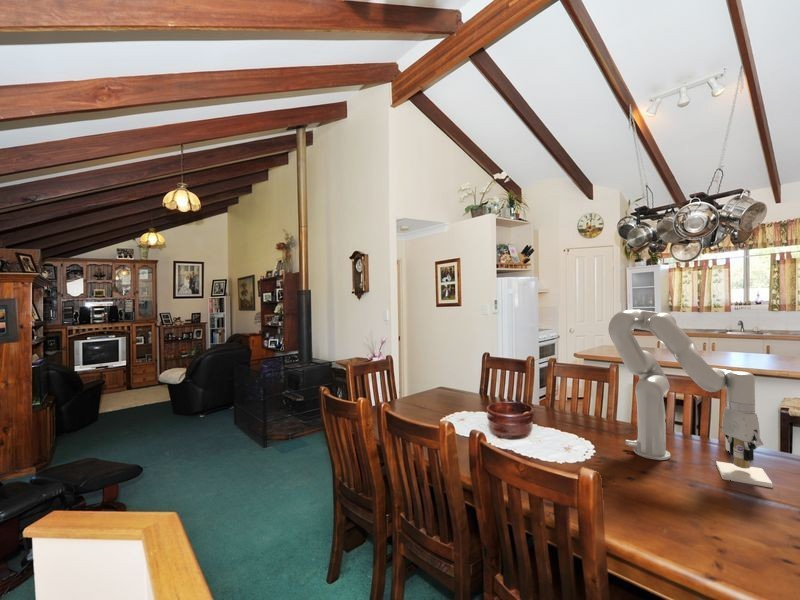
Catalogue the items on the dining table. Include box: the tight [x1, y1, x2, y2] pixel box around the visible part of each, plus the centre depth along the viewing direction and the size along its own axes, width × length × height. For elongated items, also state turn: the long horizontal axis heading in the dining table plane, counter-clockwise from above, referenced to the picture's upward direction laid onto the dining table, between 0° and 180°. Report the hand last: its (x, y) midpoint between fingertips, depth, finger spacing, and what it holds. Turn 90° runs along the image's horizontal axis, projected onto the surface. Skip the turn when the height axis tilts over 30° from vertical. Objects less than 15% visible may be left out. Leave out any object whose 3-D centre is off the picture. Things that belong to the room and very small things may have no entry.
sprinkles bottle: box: [732, 438, 751, 469], centre depth 138 cm, size 5×5×14 cm
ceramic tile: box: [715, 460, 774, 489], centre depth 138 cm, size 13×13×2 cm
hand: (741, 456), depth 138 cm, fingers closed on sprinkles bottle, 4 cm apart
